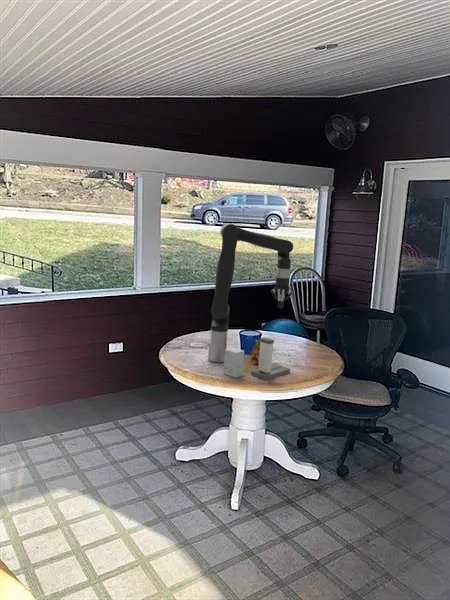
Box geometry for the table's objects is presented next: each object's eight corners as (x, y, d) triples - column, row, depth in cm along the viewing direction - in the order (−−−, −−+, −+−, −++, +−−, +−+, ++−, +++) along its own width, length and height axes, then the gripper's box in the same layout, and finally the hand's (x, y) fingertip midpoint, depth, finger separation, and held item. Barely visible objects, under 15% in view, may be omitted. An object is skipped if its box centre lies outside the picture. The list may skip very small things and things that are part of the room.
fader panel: (274, 367, 268) (275, 363, 268) (289, 372, 262) (290, 368, 261) (250, 374, 254) (251, 370, 253) (266, 380, 247) (266, 376, 247)
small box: (243, 375, 252) (244, 350, 250) (234, 378, 247) (236, 353, 245) (231, 371, 257) (233, 347, 255) (223, 373, 253) (224, 349, 250)
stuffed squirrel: (253, 365, 269) (255, 342, 267) (245, 357, 283) (247, 335, 280) (270, 365, 272) (272, 341, 270) (262, 357, 285) (263, 335, 283)
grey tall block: (261, 368, 257) (264, 337, 254) (271, 371, 252) (274, 340, 249) (257, 370, 254) (259, 338, 251) (267, 373, 250) (269, 341, 247)
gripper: (269, 276, 269) (267, 307, 272) (293, 278, 265) (290, 310, 268) (272, 274, 276) (270, 305, 279) (296, 277, 272) (293, 307, 275)
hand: (280, 307), depth 273 cm, fingers closed
